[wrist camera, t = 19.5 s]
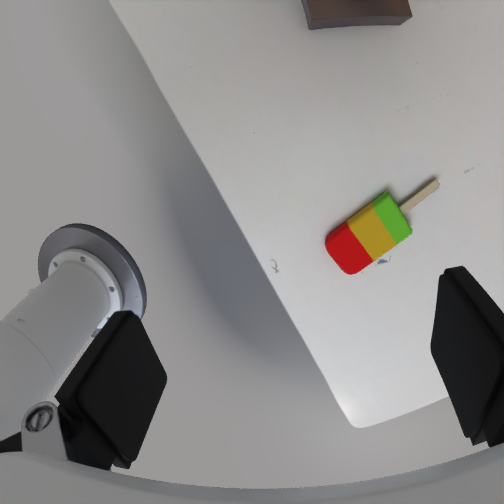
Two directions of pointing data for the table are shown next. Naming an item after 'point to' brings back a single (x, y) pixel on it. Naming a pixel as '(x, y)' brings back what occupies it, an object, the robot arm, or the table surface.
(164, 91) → the table surface
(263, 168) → the table surface
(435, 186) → the popsicle
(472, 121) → the table surface
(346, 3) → the walnut block
